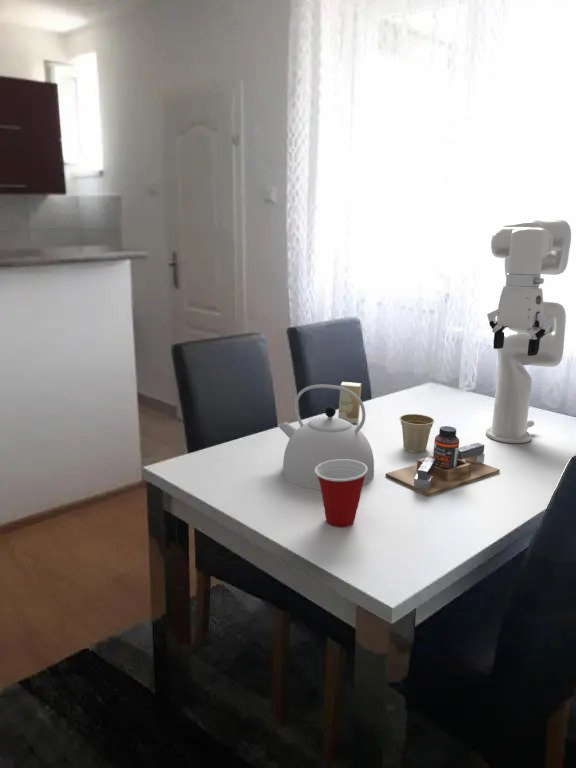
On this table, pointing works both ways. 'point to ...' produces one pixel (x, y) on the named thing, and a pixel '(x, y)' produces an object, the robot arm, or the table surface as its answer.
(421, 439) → the flower pot
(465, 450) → the pair of grey blocks
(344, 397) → the skincare box
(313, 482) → the kettle
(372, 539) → the table surface
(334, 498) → the plastic cup
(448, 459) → the supplement bottle
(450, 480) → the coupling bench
